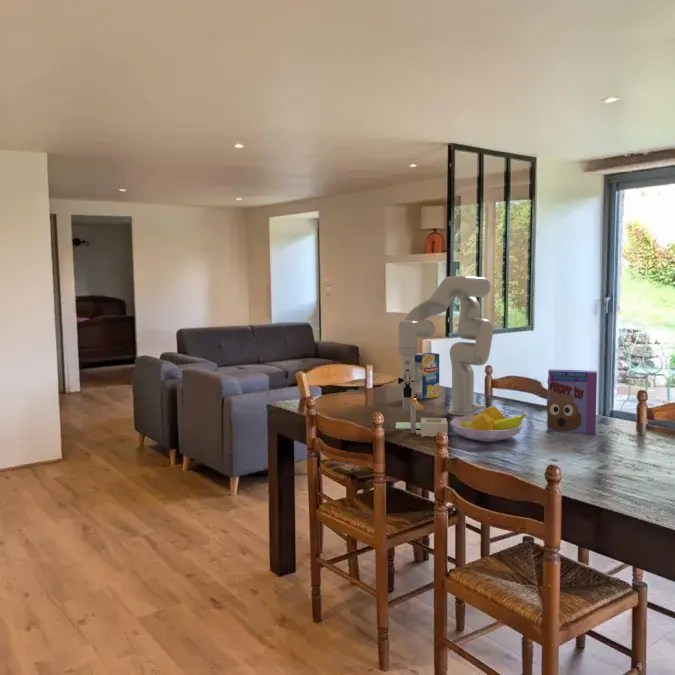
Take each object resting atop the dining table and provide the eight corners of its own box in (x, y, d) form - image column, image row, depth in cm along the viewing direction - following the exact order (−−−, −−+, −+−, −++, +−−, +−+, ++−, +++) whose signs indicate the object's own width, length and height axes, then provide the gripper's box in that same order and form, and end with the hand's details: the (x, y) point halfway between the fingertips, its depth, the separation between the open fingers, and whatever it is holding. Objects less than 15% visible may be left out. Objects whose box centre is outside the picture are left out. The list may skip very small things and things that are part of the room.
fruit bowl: (436, 435, 250) (436, 406, 248) (488, 426, 263) (489, 398, 262) (487, 452, 226) (487, 419, 224) (542, 441, 239) (543, 410, 238)
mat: (420, 423, 269) (420, 422, 269) (420, 429, 259) (420, 428, 259) (396, 423, 270) (396, 422, 270) (395, 429, 260) (395, 427, 260)
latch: (424, 409, 240) (424, 405, 239) (416, 409, 239) (416, 405, 239) (416, 401, 254) (416, 397, 254) (408, 402, 254) (408, 398, 253)
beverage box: (413, 397, 327) (413, 354, 325) (430, 395, 333) (430, 352, 331) (422, 399, 321) (422, 355, 319) (439, 397, 327) (439, 353, 325)
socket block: (446, 430, 257) (446, 400, 256) (447, 436, 247) (447, 405, 246) (410, 430, 258) (410, 399, 257) (410, 436, 249) (410, 404, 247)
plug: (413, 409, 266) (413, 382, 265) (413, 411, 261) (413, 384, 260) (401, 408, 266) (401, 382, 266) (401, 411, 261) (401, 384, 261)
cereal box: (547, 431, 254) (548, 370, 251) (548, 428, 258) (549, 368, 256) (595, 434, 247) (596, 372, 245) (595, 431, 252) (596, 370, 249)
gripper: (417, 353, 253) (417, 400, 254) (416, 349, 270) (416, 392, 271) (397, 353, 254) (397, 399, 255) (398, 349, 270) (398, 392, 272)
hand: (407, 395), depth 263 cm, fingers closed on plug, 5 cm apart
